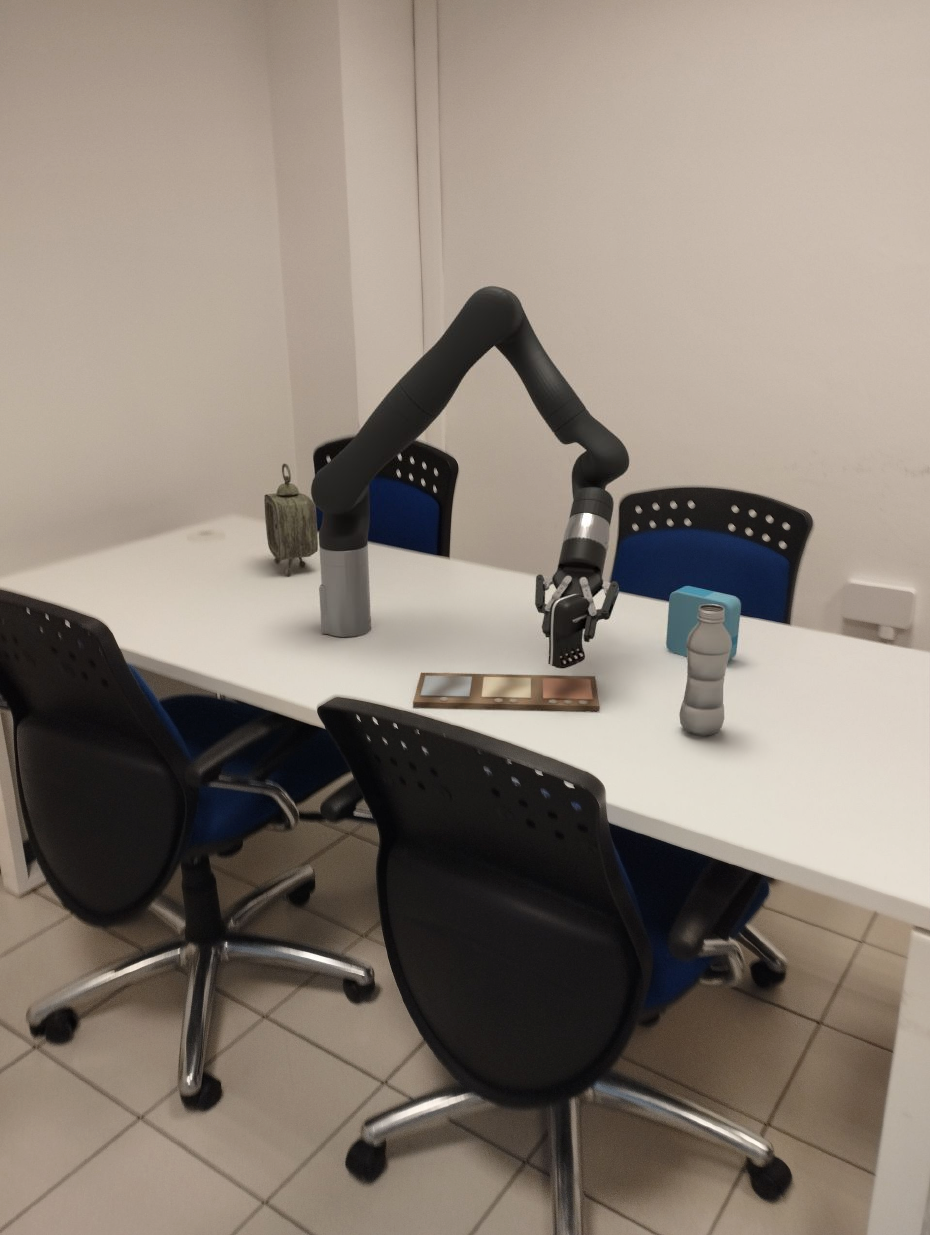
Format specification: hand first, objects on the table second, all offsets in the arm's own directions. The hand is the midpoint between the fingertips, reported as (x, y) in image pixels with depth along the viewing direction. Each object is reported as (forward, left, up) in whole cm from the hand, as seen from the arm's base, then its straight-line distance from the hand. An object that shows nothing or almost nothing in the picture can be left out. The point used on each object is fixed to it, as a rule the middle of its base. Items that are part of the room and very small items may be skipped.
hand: (566, 637), depth 155 cm
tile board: (-10, +2, -11) cm, 15 cm away
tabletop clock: (-62, +71, -11) cm, 94 cm away
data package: (+25, +21, -11) cm, 35 cm away
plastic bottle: (+20, -10, -11) cm, 25 cm away
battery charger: (+1, +2, -5) cm, 6 cm away
